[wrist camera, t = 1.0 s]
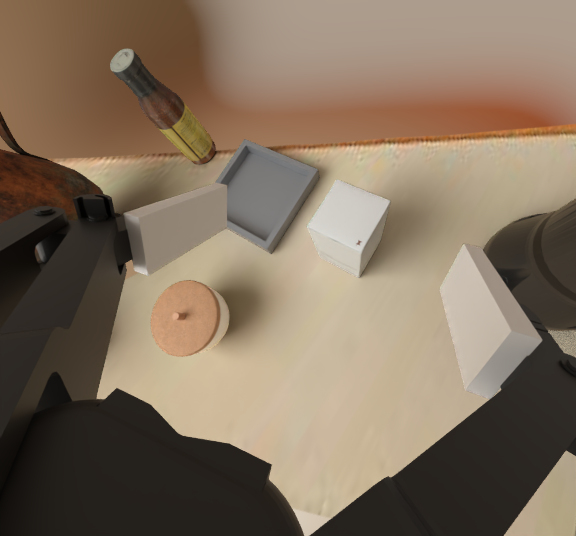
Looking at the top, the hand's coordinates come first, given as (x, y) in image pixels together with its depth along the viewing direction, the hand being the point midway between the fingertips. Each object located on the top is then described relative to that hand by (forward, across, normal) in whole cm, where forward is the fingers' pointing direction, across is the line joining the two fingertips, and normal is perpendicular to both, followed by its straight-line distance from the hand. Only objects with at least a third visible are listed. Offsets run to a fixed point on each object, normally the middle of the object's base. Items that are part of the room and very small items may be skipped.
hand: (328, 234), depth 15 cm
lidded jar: (+15, -18, -27) cm, 36 cm away
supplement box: (+26, 0, -12) cm, 29 cm away
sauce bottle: (+36, -34, -5) cm, 49 cm away
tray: (+30, -18, -9) cm, 36 cm away
